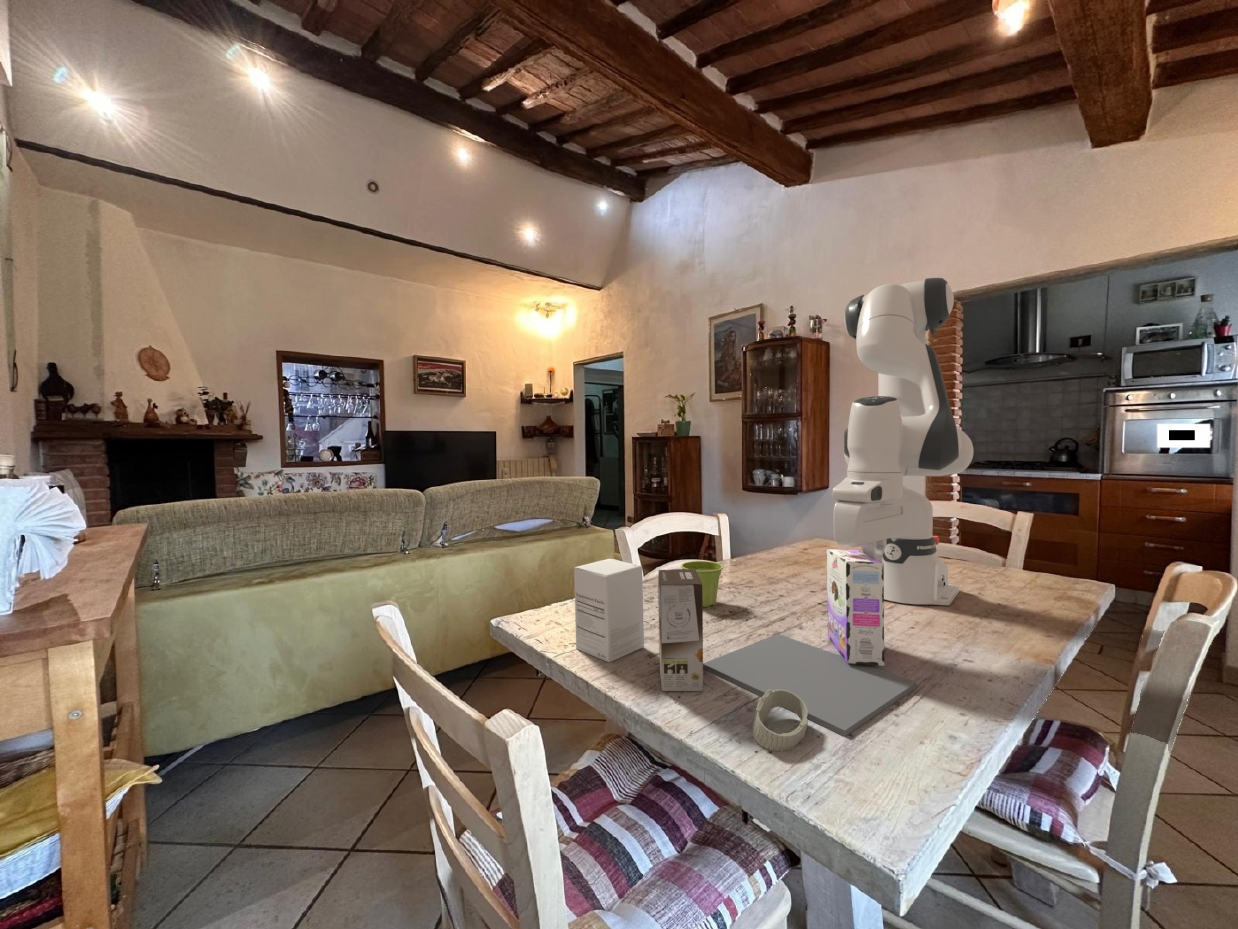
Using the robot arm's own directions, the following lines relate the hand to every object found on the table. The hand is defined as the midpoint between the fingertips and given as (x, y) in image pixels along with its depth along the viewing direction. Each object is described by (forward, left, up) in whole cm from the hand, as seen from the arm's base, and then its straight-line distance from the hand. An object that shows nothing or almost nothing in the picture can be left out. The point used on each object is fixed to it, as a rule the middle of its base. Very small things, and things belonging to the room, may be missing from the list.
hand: (873, 564), depth 90 cm
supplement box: (+38, -28, -14) cm, 50 cm away
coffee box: (+36, -12, -14) cm, 41 cm away
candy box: (+7, 0, -14) cm, 16 cm away
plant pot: (+7, -35, -14) cm, 39 cm away
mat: (+21, 0, -14) cm, 26 cm away
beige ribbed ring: (+37, +7, -15) cm, 40 cm away
